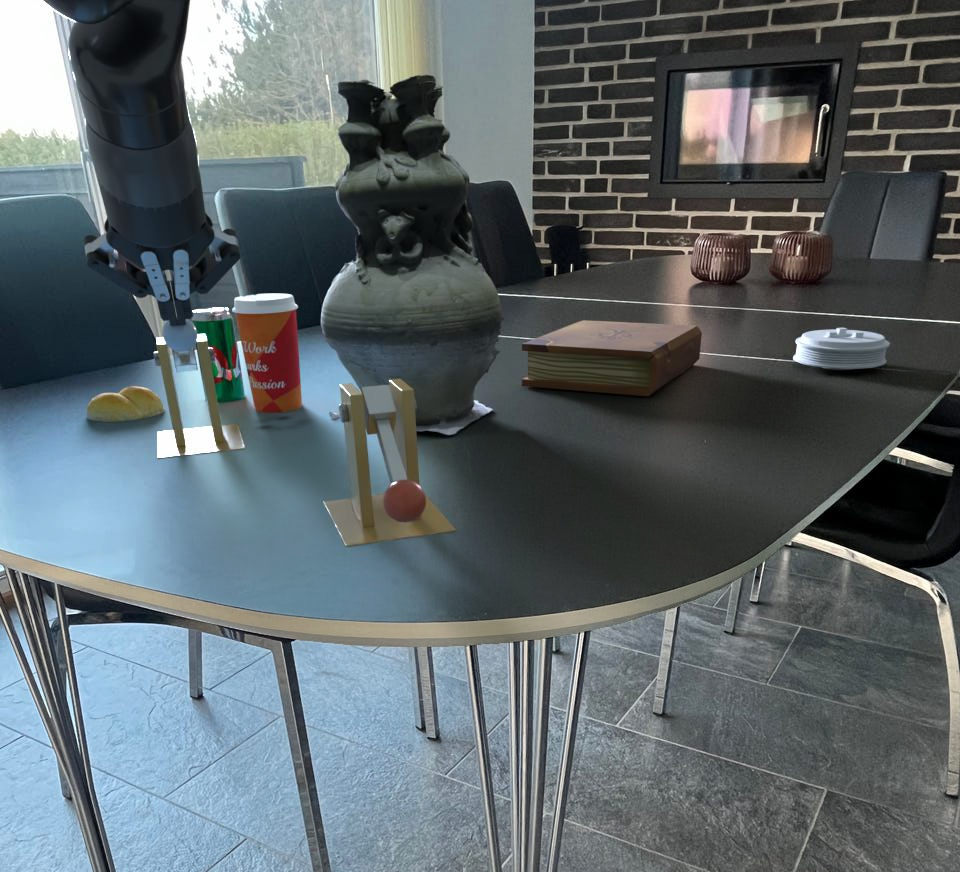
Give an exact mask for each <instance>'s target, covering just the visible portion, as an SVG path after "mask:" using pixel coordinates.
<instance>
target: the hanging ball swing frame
mask: <svg viewBox="0 0 960 872" xmlns="http://www.w3.org/2000/svg"><path fill="white" fill-rule="evenodd" d="M155 339H156V345H155V346H156V350H157V351H154V352H153V358H154V363H155V367H160V370H161V376H162V381H163V386H164V390H165V391H164V392H165V396H166V401H167V406H168V411H169V417H170V421H171V426H172V430H171V429H170V430H163V431H157V432H156V459H166V458H176V457H185V456H194V455H204V454H211V453H212V454H213V453H220V452H232V451H241V450H246V445H245V443H244V439H243V436H242V433H241V430H240V427H239V424H238V423H231V424H230V423H229V424H222V420H221V414H220V409H219V408H220V407H219V403H218V401H217V395H216V390H215V384H214V378H213V372H212V366H211V362H215V356H214V350H213V348H208V342H207V338H206V335H205V334H199V335H198V339H197V345H198V351H199V357H200V363H201V368H202V374H203V380H204V386H205V391H206V397H207V401H206V403H207V407H208V408H207V409H208V413H209V419H210V420H209V421H210V426H202V427H201V426H200V427H192V428H184V424H183V417H182V412H181V408H180V402H179V397H178V391H177V385H176V381H175V375H174V370H173V366H172V359H171V355H170V349H169V347H168V345H167V344H166V343H165V341H164V339H163V336H161V337H156V338H155Z"/></svg>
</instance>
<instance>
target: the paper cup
mask: <svg viewBox="0 0 960 872" xmlns="http://www.w3.org/2000/svg"><path fill="white" fill-rule="evenodd" d="M233 300H234V301H233V308H232V310H231V312H232V313H234V314H235V319H236V324H237V329H238V333H239V339H240V343H241V347H242V353H243V357H244V363H245V367H246V373H247V378H248V381H249V387H250V391H251V397H252V401H253V405H254V410H255V411H257V412H258V413H259V412H260V413H265V414H266V413H267V414H277V413H279V414H280V413H286V412H287V413H289V412H292V411H296V410H298V409H300V408H302V407H303V397H302V383H301V382H302V381H301V367H300V365H301V364H300V352H299V337H298V320H297V310H298V308H299V305H298V304H297V303H296V301H295V297H294V295H293V294H291V293H290V294H289V293H280V292H279V293H278V292H277V293H276V292H275V293H256V294H248V295H247V294H246V295H244V296H236V297H235V298H234V299H233Z"/></svg>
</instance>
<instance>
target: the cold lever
mask: <svg viewBox="0 0 960 872" xmlns="http://www.w3.org/2000/svg"><path fill="white" fill-rule="evenodd" d="M176 317H177V315H176ZM185 320H186V325H179V324H178V326H170V322H169V321H164V324H163V325H162V329H161V335H162V336H161V337H163V339H164V341H165V343H166V344H167V345H168V348H170V349H171V351H172V355H173V356H172V357H173V362H174V367H175V371H176V372H177V373H185V372H194V371H195V372H196V371H199V367H198V361H197V356H196V355H197V354H196V349H195V347H196V343H197V339H198V333H197V330H196V327H195V326H194V324H193V323H192V320H191V319H185ZM177 322H178V319H177Z"/></svg>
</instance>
